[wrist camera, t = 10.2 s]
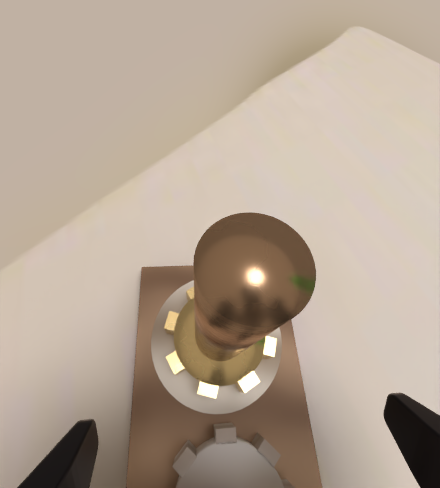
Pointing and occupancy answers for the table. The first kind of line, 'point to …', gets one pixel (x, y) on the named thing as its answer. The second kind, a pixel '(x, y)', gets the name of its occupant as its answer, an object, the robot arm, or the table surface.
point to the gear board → (213, 410)
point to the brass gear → (239, 300)
